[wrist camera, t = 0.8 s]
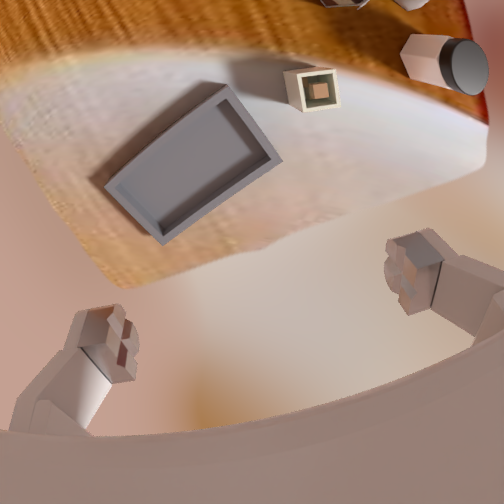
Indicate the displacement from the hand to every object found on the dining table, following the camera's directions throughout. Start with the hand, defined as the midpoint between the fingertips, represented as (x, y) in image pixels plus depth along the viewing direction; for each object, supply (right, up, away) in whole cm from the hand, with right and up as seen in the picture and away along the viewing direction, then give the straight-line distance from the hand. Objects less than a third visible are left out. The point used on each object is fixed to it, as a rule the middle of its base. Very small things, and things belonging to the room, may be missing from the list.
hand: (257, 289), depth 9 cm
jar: (+27, +32, +29) cm, 51 cm away
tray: (-9, +14, +35) cm, 39 cm away
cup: (+7, +24, +31) cm, 40 cm away
